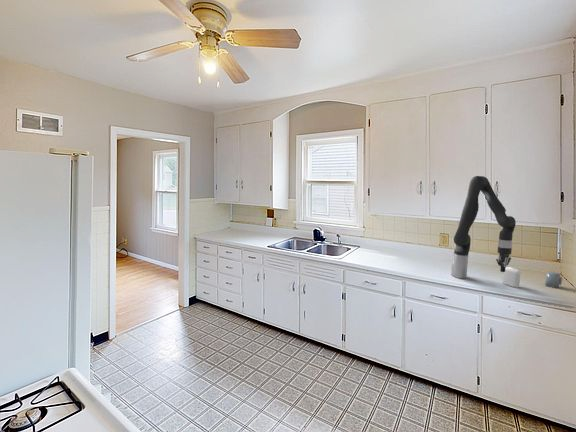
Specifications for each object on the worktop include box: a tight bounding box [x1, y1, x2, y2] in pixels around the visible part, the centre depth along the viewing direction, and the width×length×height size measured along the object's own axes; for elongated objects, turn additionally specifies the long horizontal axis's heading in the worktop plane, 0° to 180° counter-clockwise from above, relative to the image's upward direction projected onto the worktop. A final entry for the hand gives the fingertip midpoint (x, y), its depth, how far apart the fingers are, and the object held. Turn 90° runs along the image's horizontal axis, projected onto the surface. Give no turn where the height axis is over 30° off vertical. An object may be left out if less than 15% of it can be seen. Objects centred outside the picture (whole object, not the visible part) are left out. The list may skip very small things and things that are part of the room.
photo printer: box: [502, 266, 521, 289], centre depth 205 cm, size 10×4×12 cm, turn 14°
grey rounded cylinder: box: [544, 271, 563, 289], centre depth 203 cm, size 8×7×9 cm
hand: (502, 271), depth 200 cm, fingers closed
